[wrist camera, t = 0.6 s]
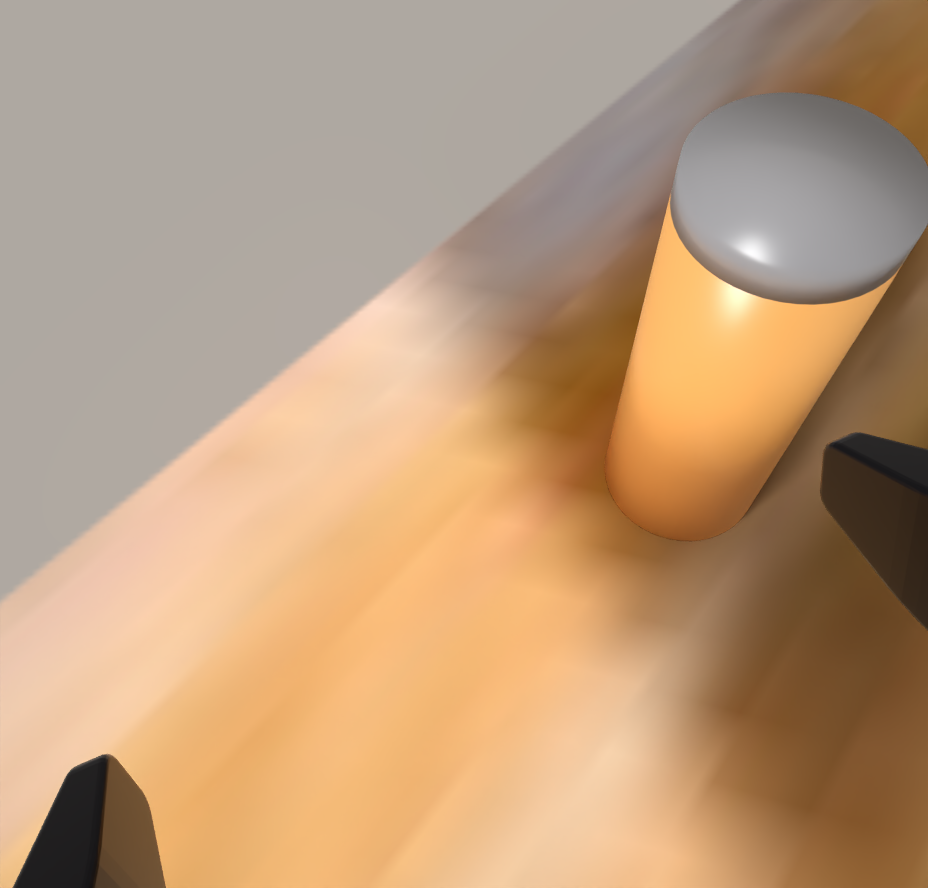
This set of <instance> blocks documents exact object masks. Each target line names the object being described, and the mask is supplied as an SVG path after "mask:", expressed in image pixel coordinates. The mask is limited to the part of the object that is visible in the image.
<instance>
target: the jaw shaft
mask: <svg viewBox="0 0 928 888" xmlns="http://www.w3.org/2000/svg"><path fill="white" fill-rule="evenodd" d="M927 224H928V167H927V164H926V162H925V160H924V159H923V157H922V156H921V155H920V153H919V152H918V150H917V149H916V148H915V147H914V145H913V144H912V143H911V142H910V141H909V140H908V139H907V138H906V137H905V136H904V135H903V134H901V133H900V132H899V131H898V130H897V129H896V128H894V127H893V126H891V125H890V124H889V123H887V122H886V121H884V120H882V119H881V118H879V117H877V116H876V115H874V114H872V113H870V112H868V111H866V110H864V109H861V108H859V107H857V106H854V105H851V104H849V103H846V102H843V101H839V100H836V99H832V98H828V97H823V96H818V95H812V94H802V93H770V94H762V95H756V96H750V97H747V98H743V99H739V100H736V101H734V102H731V103H729V104H726V105H724V106H722V107H720V108H718V109H716V110H715V111H713V112H711V113H710V114H709V115H707V116H706V117H705V118H703V119H702V120H701V121H700V122H699V123H698V124H697V125H696V126H695V127H694V128H693V130H692V131H691V132H690V134H689V135H688V137H687V139H686V141H685V143H684V145H683V148H682V151H681V154H680V158H679V162H678V166H677V170H676V174H675V178H674V182H673V186H672V191H671V195H670V199H669V203H668V207H667V211H666V215H665V219H664V223H663V227H662V231H661V235H660V239H659V243H658V247H657V251H656V255H655V259H654V263H653V267H652V271H651V275H650V279H649V284H648V288H647V292H646V296H645V300H644V304H643V308H642V312H641V316H640V320H639V324H638V328H637V332H636V336H635V340H634V344H633V348H632V352H631V356H630V360H629V364H628V368H627V372H626V377H625V381H624V385H623V389H622V393H621V397H620V401H619V405H618V409H617V413H616V417H615V421H614V425H613V429H612V433H611V437H610V441H609V445H608V449H607V453H606V458H605V477H606V483H607V486H608V489H609V492H610V494H611V496H612V498H613V500H614V501H615V503H616V504H617V506H618V507H619V508H620V510H621V511H622V512H623V513H624V514H625V515H626V516H627V517H628V518H629V519H630V520H631V521H632V522H634V523H635V524H637V525H638V526H639V527H641V528H643V529H644V530H646V531H648V532H650V533H652V534H655V535H657V536H660V537H664V538H667V539H672V540H678V541H698V540H704V539H709V538H712V537H715V536H718V535H720V534H722V533H724V532H726V531H728V530H729V529H730V528H732V527H733V526H735V525H736V524H737V523H738V522H739V521H740V520H741V519H742V517H743V516H744V515H745V514H746V512H747V511H748V509H749V507H750V506H751V504H752V503H753V501H754V499H755V498H756V496H757V495H758V493H759V492H760V490H761V488H762V487H763V485H764V484H765V482H766V480H767V479H768V477H769V476H770V474H771V473H772V471H773V469H774V468H775V466H776V465H777V463H778V461H779V460H780V458H781V457H782V455H783V453H784V452H785V450H786V449H787V447H788V446H789V444H790V442H791V441H792V439H793V438H794V436H795V434H796V433H797V431H798V430H799V428H800V427H801V425H802V423H803V422H804V420H805V419H806V417H807V415H808V414H809V412H810V411H811V409H812V407H813V406H814V404H815V403H816V401H817V400H818V398H819V396H820V395H821V393H822V392H823V390H824V388H825V387H826V385H827V384H828V382H829V381H830V379H831V377H832V376H833V374H834V373H835V371H836V369H837V368H838V366H839V365H840V363H841V361H842V360H843V358H844V357H845V355H846V354H847V352H848V350H849V349H850V347H851V346H852V344H853V342H854V341H855V339H856V338H857V336H858V335H859V333H860V331H861V330H862V328H863V327H864V325H865V323H866V322H867V320H868V319H869V317H870V315H871V314H872V312H873V311H874V309H875V308H876V306H877V304H878V303H879V301H880V300H881V298H882V296H883V295H884V293H885V292H886V290H887V289H888V287H889V285H890V284H891V282H892V281H893V279H894V277H895V276H896V274H897V273H898V271H899V269H900V268H901V266H902V265H903V263H904V262H905V260H906V258H907V257H908V255H909V254H910V252H911V250H912V249H913V247H914V246H915V244H916V243H917V241H918V239H919V238H920V236H921V235H922V233H923V231H924V230H925V228H926V226H927Z"/></svg>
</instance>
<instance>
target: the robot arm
mask: <svg viewBox="0 0 928 888" xmlns="http://www.w3.org/2000/svg"><path fill="white" fill-rule="evenodd" d="M820 494H821V499H822V502H823V504H824V506H825V508H826V510H827V511H828V512H829V514H830V515H831V516H832V517H833V519H834V520H835V521H836V523H837V524H838V525H839V526H840V528H841V529H842V530H843V531H844V533H845V534H846V535H847V536H848V538H849V539H850V540H851V541H852V543H853V544H854V545H855V546H856V548H857V549H858V550H859V552H860V553H861V554H862V555H863V557H864V558H865V559H866V560H867V562H868V563H869V564H870V565H871V567H872V568H873V569H874V570H875V572H876V573H877V574H878V575H879V577H880V578H881V579H882V581H883V582H884V583H885V584H886V586H887V587H888V588H889V589H890V590H891V592H892V593H893V594H894V595H895V596H896V597H897V599H898V600H899V601H900V602H901V603H902V604H903V605H904V606H905V608H906V609H907V610H908V611H909V612H910V613H911V614H912V615H913V616H914V617H915V618H916V619H917V620H918V621H919V622H920V623H921V624H922V625H923V626H924V627H925V628H926V629H927V630H928V449H924V448H920V447H916V446H912V445H908V444H904V443H900V442H896V441H892V440H888V439H884V438H880V437H876V436H872V435H868V434H865V433H857V432H856V433H851V434H848V435H846V436H843V437H841V438H839V439H836V440H834V441H832V442H830V443H828V444H827V445H826V447H825V449H824V452H823V461H822V474H821V487H820ZM13 888H166V886H165V881H164V876H163V871H162V866H161V861H160V856H159V851H158V846H157V840H156V835H155V830H154V825H153V820H152V815H151V811H150V807H149V804H148V802H147V799H146V797H145V795H144V793H143V792H142V790H141V789H140V788H139V787H138V785H137V784H136V783H135V782H134V780H133V779H132V778H131V776H130V775H129V774H128V773H127V771H126V770H125V769H124V768H123V766H122V765H121V764H120V763H119V761H118V760H117V759H116V758H115V757H114V756H112V755H110V754H105V755H101V756H98V757H96V758H94V759H91V760H89V761H87V762H84V763H82V764H80V765H77V766H75V767H74V768H73V769H71V770H70V772H69V773H68V774H67V776H66V777H65V779H64V782H63V784H62V786H61V788H60V790H59V792H58V794H57V796H56V798H55V800H54V802H53V805H52V807H51V809H50V811H49V813H48V815H47V817H46V819H45V821H44V823H43V825H42V828H41V830H40V832H39V834H38V836H37V838H36V840H35V842H34V844H33V846H32V848H31V851H30V853H29V855H28V857H27V859H26V861H25V863H24V865H23V867H22V869H21V871H20V874H19V876H18V878H17V880H16V882H15V884H14V886H13Z"/></svg>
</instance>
